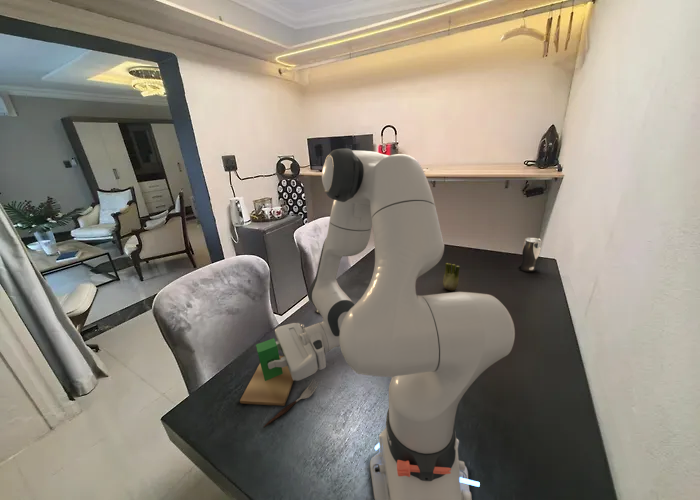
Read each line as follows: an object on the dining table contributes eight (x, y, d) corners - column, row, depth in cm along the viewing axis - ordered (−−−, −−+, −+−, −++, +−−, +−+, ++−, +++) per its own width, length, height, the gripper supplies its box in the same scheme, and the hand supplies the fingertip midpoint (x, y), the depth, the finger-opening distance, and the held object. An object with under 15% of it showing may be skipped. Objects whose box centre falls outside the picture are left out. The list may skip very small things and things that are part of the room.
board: (284, 405, 67) (284, 403, 66) (240, 403, 68) (239, 400, 68) (301, 358, 82) (301, 356, 81) (264, 357, 83) (264, 355, 83)
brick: (265, 381, 72) (257, 352, 68) (262, 372, 75) (255, 344, 71) (283, 373, 74) (277, 345, 70) (279, 365, 77) (274, 337, 73)
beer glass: (515, 268, 128) (521, 239, 122) (524, 264, 130) (530, 236, 125) (529, 273, 122) (536, 243, 116) (539, 270, 124) (546, 240, 119)
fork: (261, 425, 63) (259, 419, 62) (314, 383, 73) (313, 377, 72) (266, 432, 61) (264, 426, 60) (320, 388, 71) (319, 383, 70)
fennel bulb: (458, 290, 112) (461, 265, 107) (449, 293, 110) (451, 267, 106) (449, 284, 117) (451, 260, 113) (440, 287, 115) (442, 262, 111)
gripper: (301, 314, 85) (257, 329, 79) (325, 353, 68) (271, 376, 62) (303, 329, 87) (261, 345, 82) (327, 372, 70) (276, 395, 65)
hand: (265, 359), depth 72 cm, fingers closed on brick, 3 cm apart
